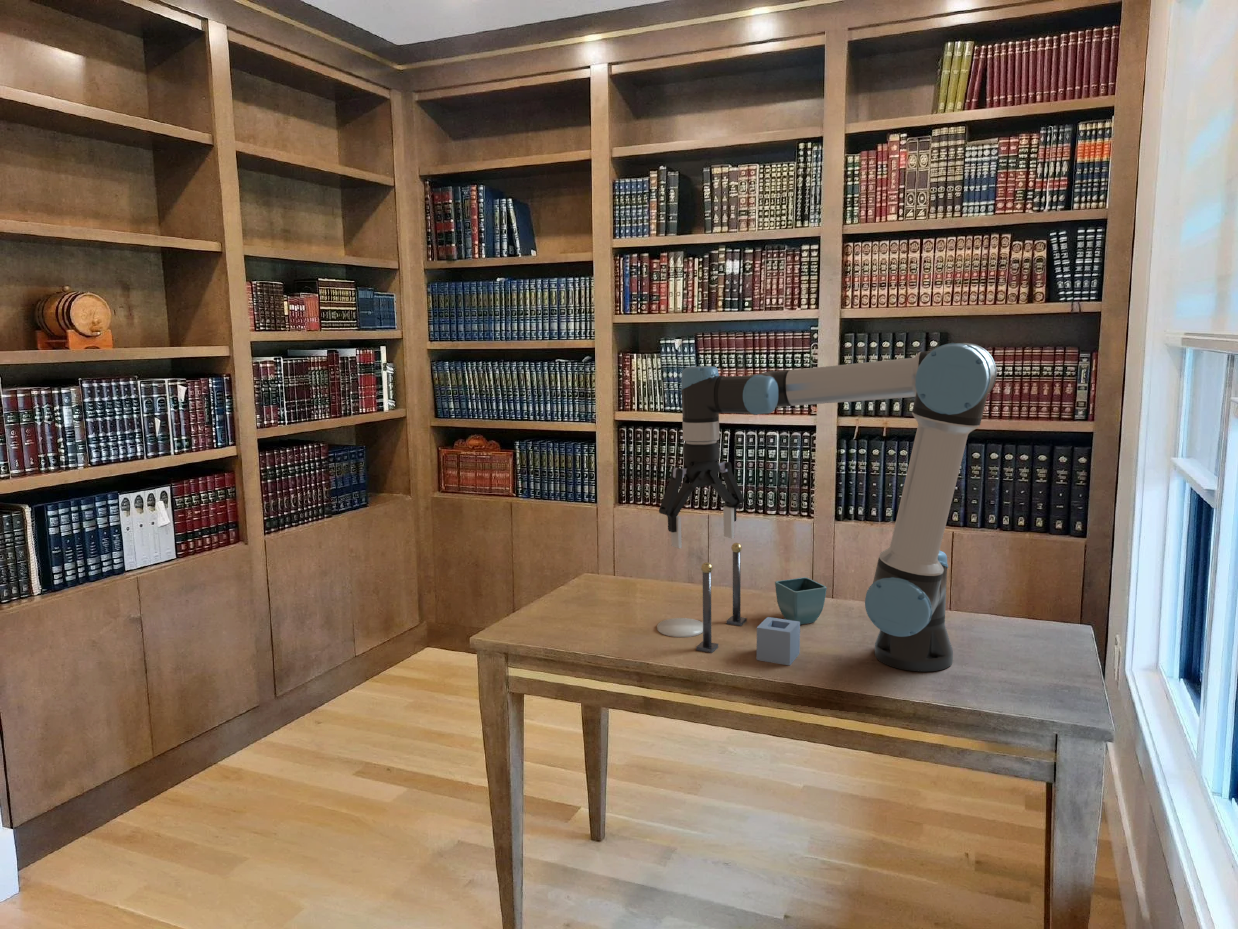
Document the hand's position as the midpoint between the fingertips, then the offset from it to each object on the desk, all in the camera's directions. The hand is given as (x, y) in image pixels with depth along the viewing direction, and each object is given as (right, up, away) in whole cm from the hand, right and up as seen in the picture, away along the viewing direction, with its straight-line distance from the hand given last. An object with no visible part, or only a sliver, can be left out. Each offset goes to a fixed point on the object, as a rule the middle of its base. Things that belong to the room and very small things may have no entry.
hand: (703, 542), depth 178 cm
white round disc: (-4, -21, +15) cm, 26 cm away
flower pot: (+24, -20, +19) cm, 37 cm away
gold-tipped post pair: (+5, -22, +11) cm, 25 cm away
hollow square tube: (+15, -24, -2) cm, 28 cm away
